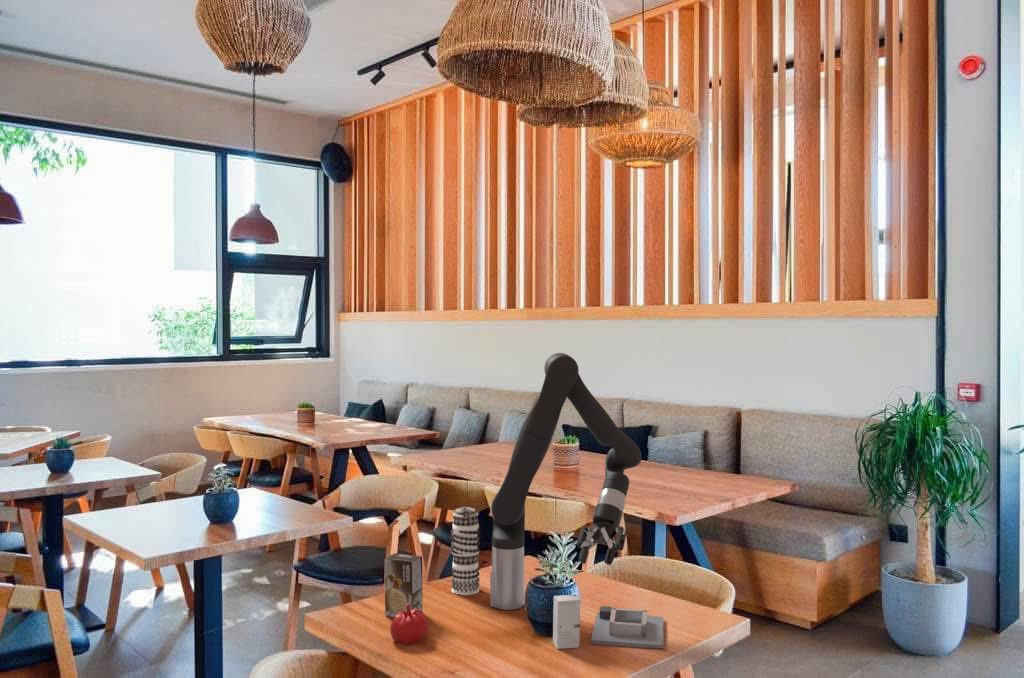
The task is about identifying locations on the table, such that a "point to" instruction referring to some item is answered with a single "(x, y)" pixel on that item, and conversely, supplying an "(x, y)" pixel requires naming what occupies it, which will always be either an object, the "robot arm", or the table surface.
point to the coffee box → (403, 583)
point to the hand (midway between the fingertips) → (594, 563)
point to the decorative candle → (465, 551)
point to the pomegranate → (409, 626)
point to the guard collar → (628, 628)
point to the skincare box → (566, 621)
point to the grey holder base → (650, 641)
